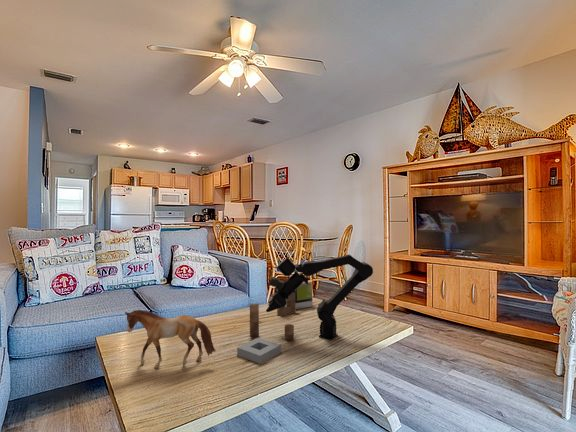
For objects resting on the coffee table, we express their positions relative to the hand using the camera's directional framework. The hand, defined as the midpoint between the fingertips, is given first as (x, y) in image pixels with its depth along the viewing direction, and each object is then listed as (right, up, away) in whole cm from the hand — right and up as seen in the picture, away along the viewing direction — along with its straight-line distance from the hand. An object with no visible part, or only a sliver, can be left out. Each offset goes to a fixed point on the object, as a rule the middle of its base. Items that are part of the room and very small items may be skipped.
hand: (267, 308), depth 136 cm
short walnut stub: (+10, -12, -4) cm, 16 cm away
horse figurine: (-32, -12, -29) cm, 45 cm away
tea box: (+15, -13, +46) cm, 50 cm away
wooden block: (+8, -13, +32) cm, 35 cm away
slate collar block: (-2, -12, -18) cm, 22 cm away
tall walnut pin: (-6, -12, 0) cm, 14 cm away
